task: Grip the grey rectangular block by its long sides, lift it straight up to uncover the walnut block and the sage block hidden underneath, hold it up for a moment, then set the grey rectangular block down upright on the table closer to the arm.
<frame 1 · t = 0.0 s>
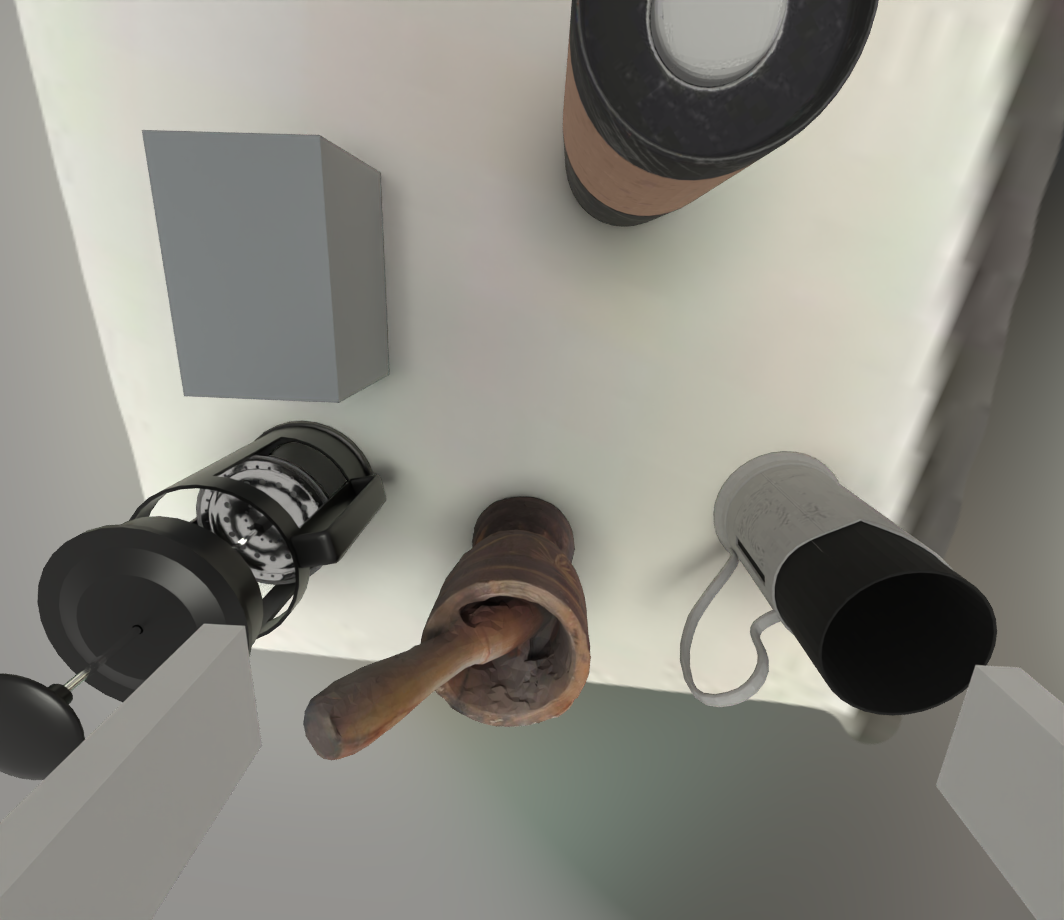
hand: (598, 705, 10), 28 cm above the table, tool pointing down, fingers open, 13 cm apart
grey rectangular block: (322, 276, 35), on the table
mortar and pestle: (500, 543, 41), on the table
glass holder: (740, 529, 40), on the table
french press: (318, 483, 40), on the table
travel mug: (626, 161, 33), on the table
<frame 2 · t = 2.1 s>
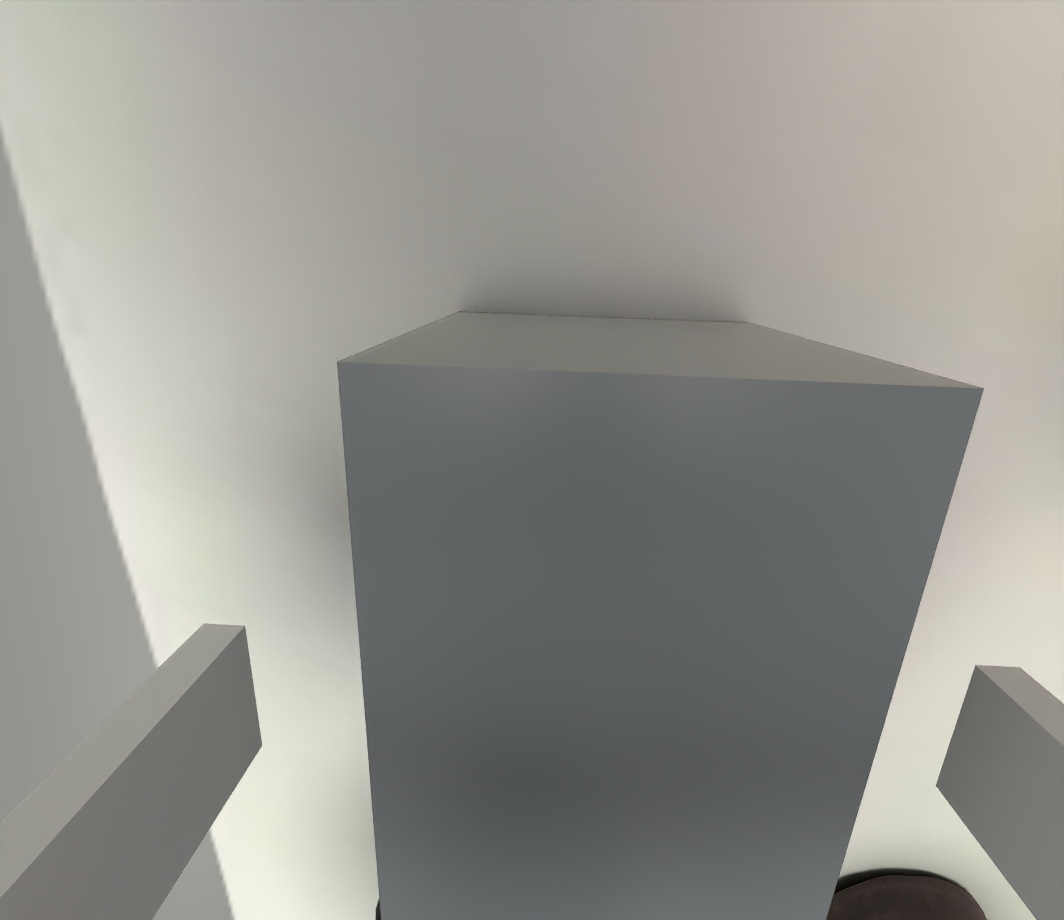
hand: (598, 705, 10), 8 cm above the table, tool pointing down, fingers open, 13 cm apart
grey rectangular block: (588, 515, 17), on the table
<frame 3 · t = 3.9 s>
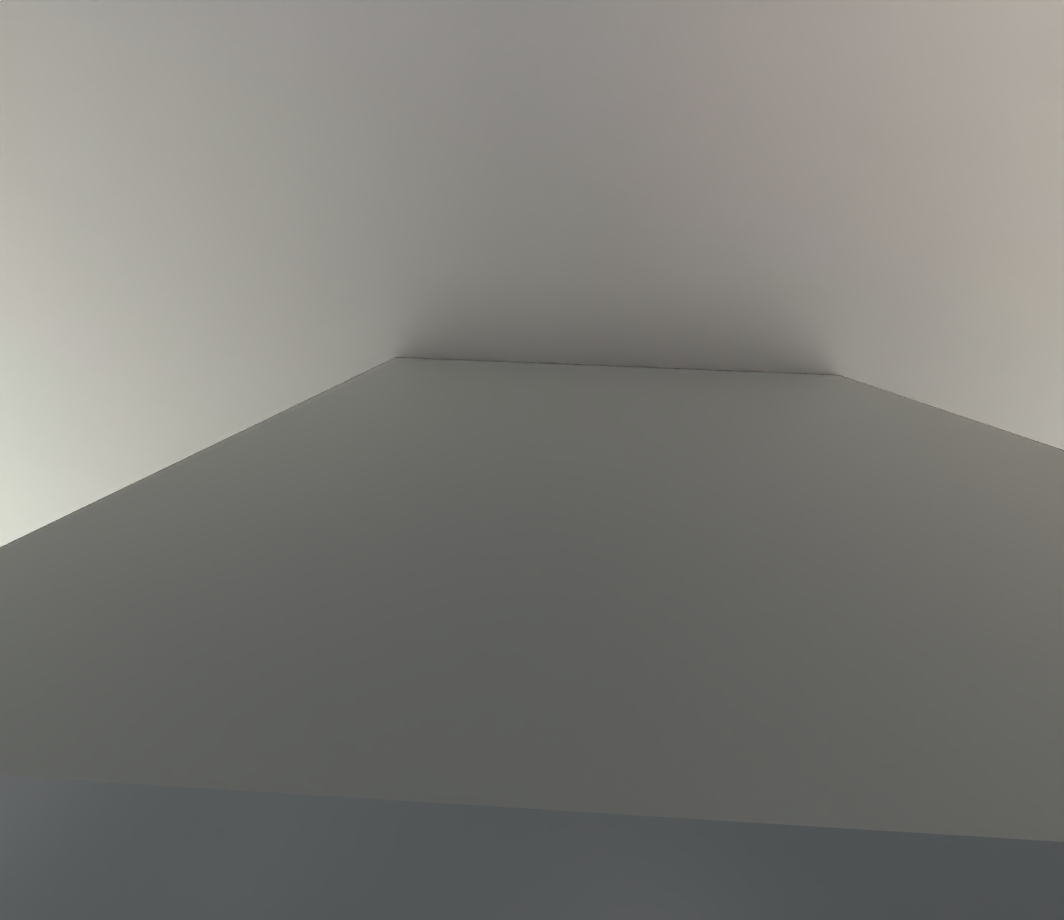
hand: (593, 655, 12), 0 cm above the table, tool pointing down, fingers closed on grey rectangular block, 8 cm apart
grey rectangular block: (592, 647, 12), on the table, touching gripper
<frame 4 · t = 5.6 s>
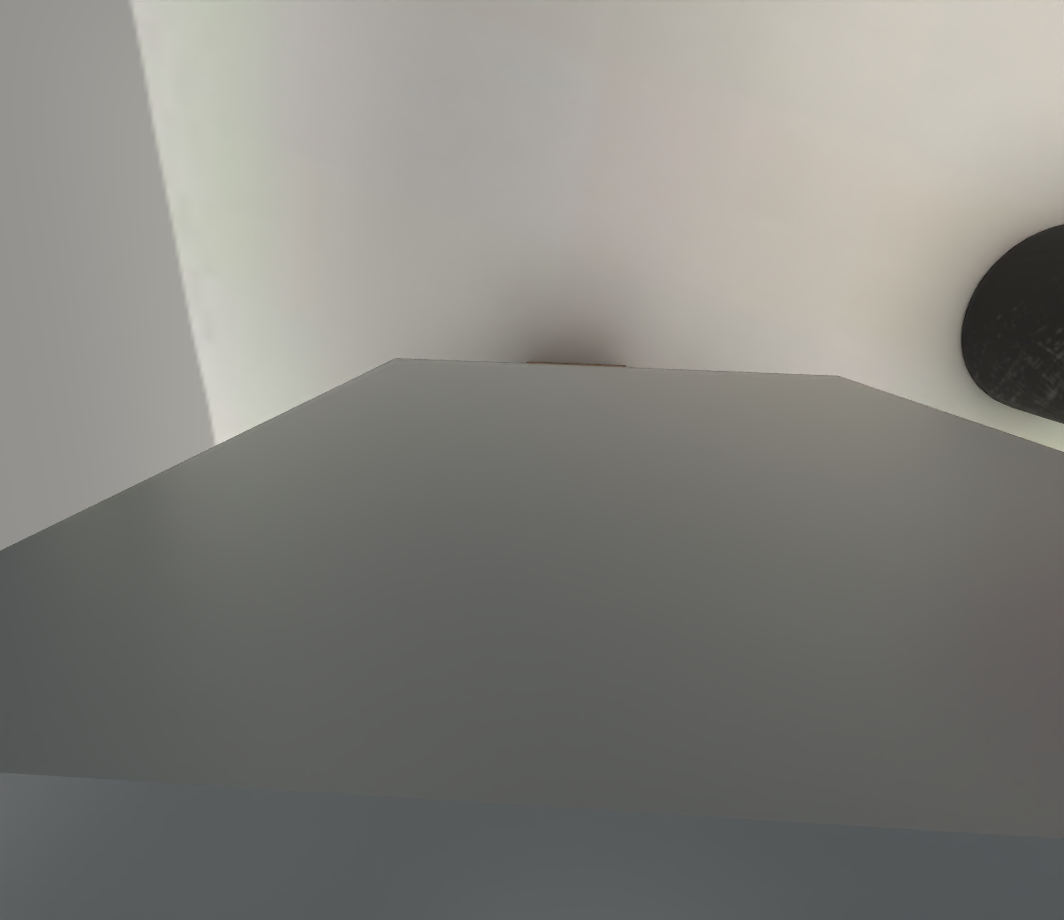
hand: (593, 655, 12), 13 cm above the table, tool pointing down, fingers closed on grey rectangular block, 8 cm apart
grey rectangular block: (592, 647, 12), point 13 cm above the table, touching gripper
travel mug: (1051, 319, 22), on the table
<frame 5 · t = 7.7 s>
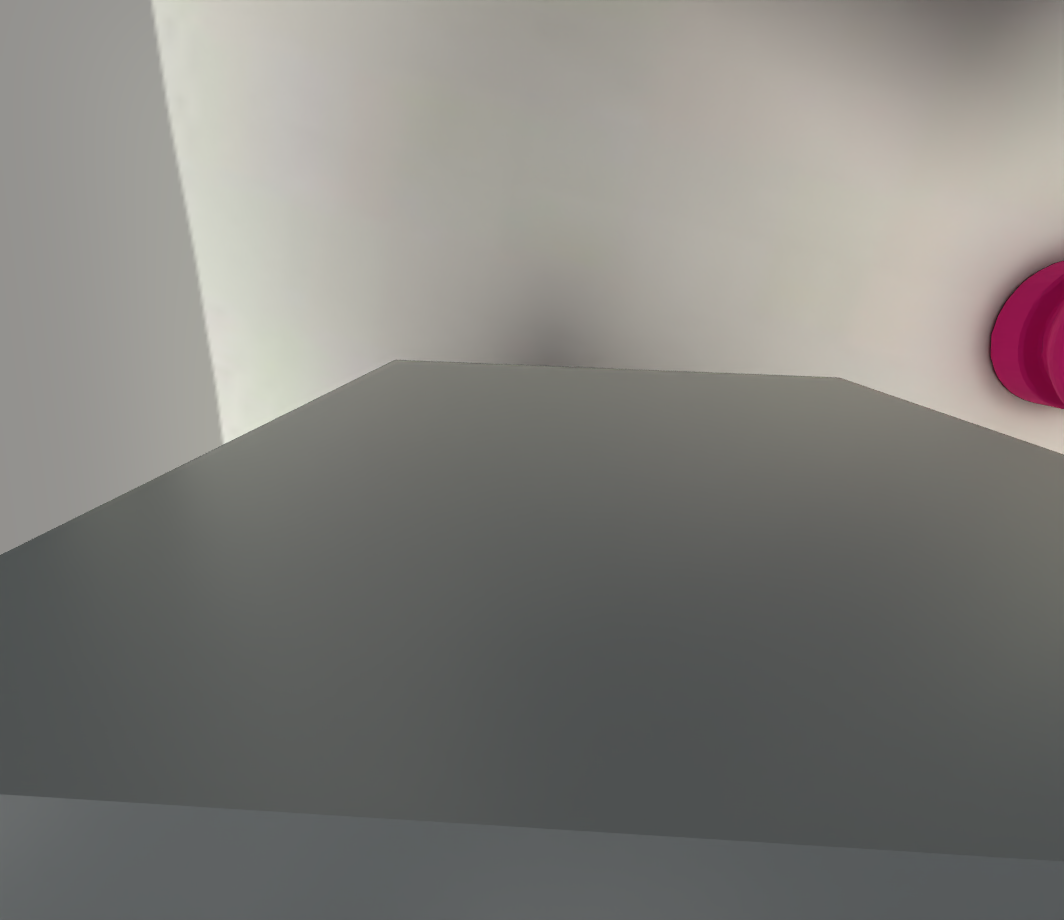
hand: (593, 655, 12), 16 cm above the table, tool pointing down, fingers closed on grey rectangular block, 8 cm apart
grey rectangular block: (592, 650, 12), point 15 cm above the table, touching gripper
pepper mill: (1057, 332, 25), on the table
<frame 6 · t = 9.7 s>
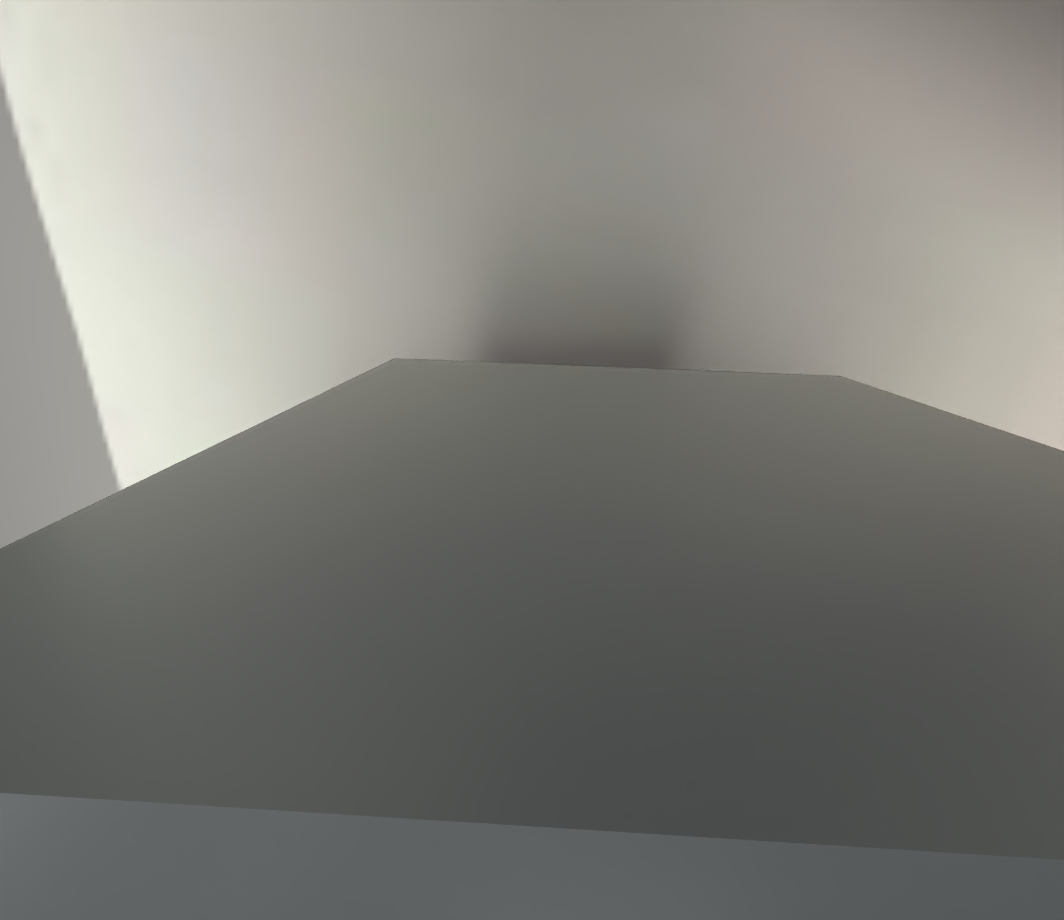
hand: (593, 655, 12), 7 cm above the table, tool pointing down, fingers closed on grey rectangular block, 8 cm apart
grey rectangular block: (592, 649, 12), point 7 cm above the table, touching gripper
when the fingers open (2 cm above the table, at t = 11.6 s): grey rectangular block drops 2 cm, on the table.
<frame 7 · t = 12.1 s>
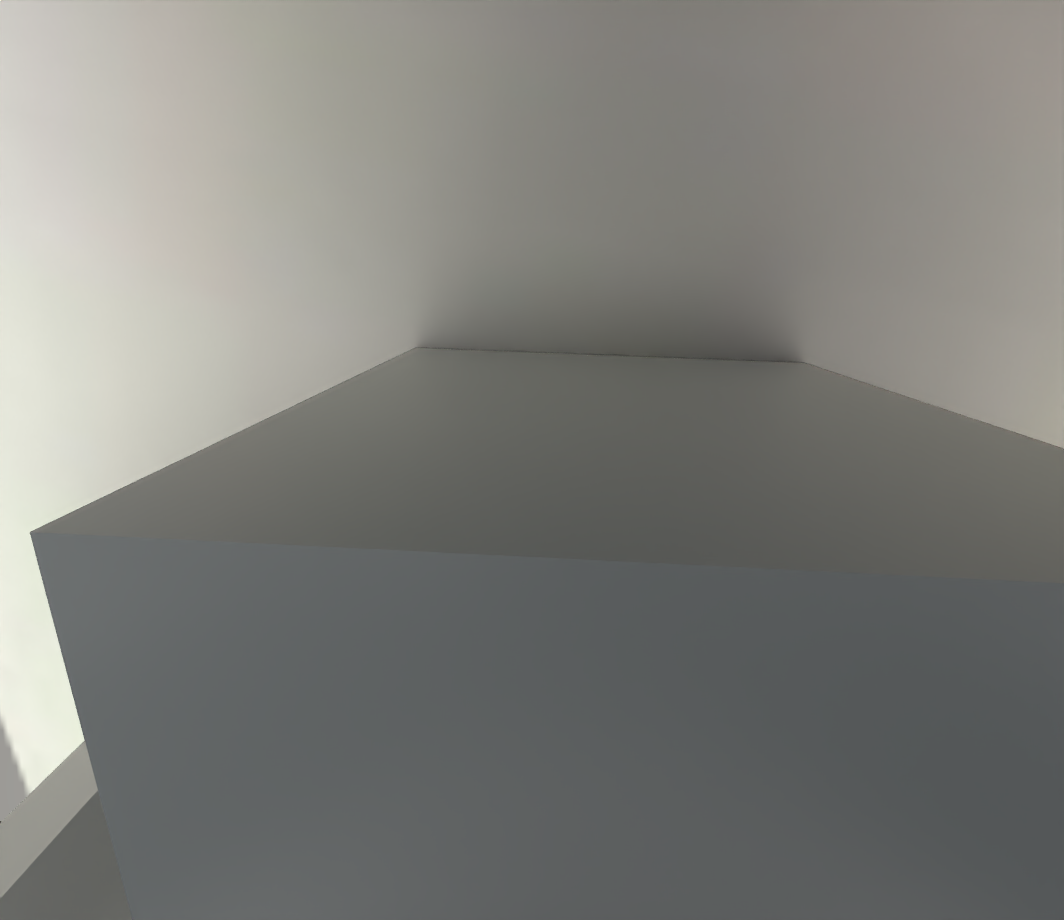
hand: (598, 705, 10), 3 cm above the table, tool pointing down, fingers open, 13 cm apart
grey rectangular block: (589, 608, 13), on the table
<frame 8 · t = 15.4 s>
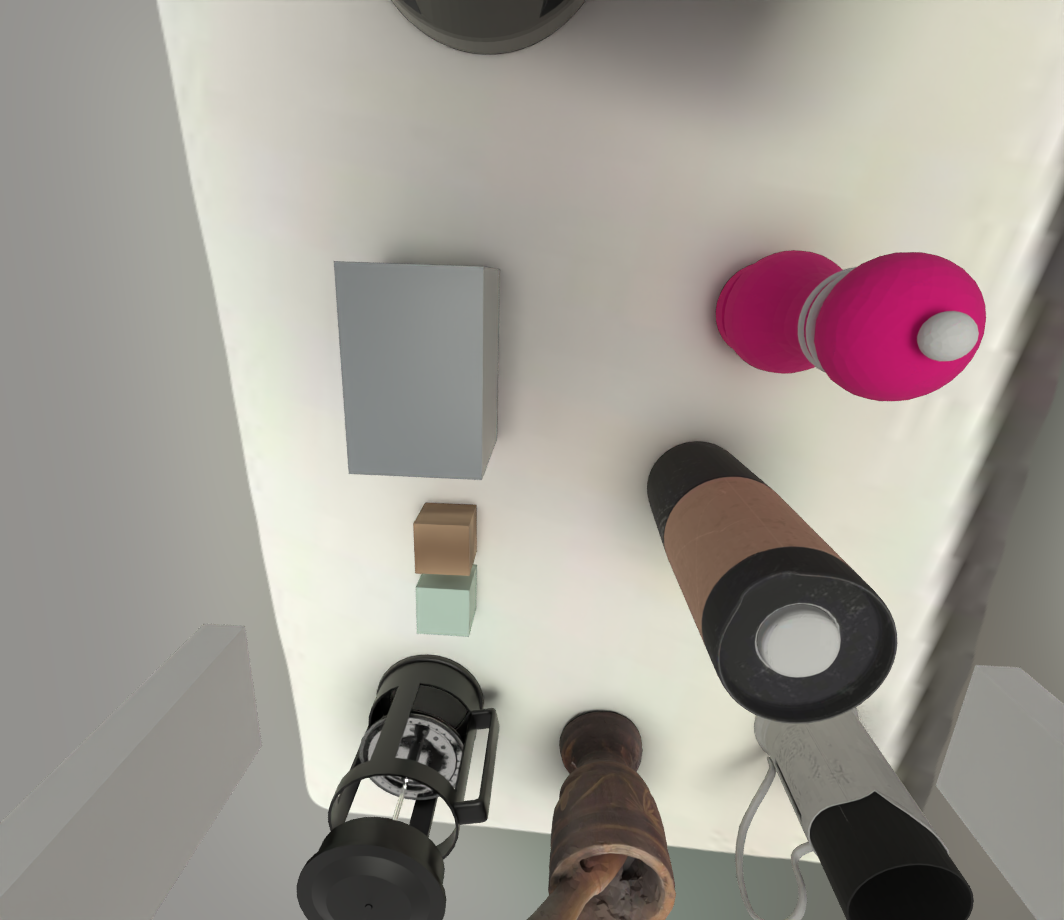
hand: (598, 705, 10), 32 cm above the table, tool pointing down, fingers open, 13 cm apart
grey rectangular block: (442, 356, 40), on the table
walnut block: (451, 526, 44), on the table
mortar and pestle: (581, 741, 50), on the table
sage block: (452, 584, 46), on the table
pepper mill: (760, 309, 39), on the table
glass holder: (775, 735, 49), on the table
french press: (436, 697, 50), on the table
travel mug: (693, 485, 43), on the table
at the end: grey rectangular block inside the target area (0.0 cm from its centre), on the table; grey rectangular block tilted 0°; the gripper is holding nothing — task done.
